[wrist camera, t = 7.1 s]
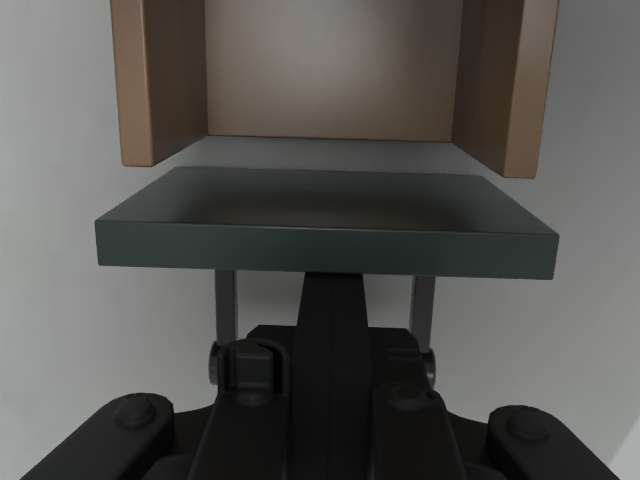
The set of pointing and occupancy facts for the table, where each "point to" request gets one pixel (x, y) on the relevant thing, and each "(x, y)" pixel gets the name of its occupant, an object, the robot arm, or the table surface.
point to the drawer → (331, 123)
